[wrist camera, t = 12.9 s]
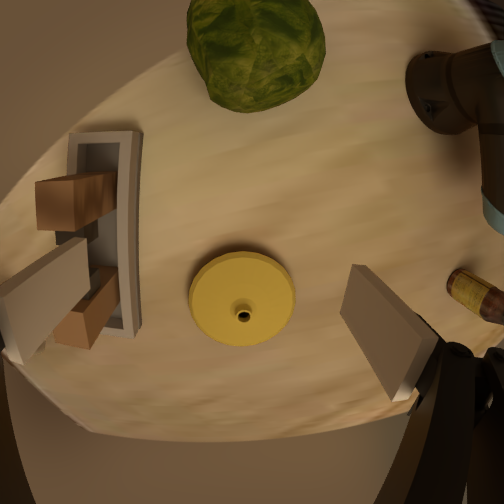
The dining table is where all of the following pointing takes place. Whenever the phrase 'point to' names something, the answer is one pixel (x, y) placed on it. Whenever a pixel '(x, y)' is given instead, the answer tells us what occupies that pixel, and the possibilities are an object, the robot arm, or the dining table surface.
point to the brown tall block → (75, 204)
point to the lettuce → (255, 50)
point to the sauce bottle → (477, 295)
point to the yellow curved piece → (242, 298)
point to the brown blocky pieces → (108, 242)
